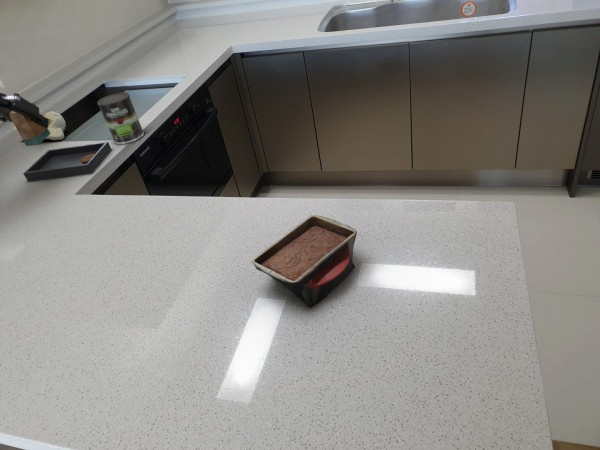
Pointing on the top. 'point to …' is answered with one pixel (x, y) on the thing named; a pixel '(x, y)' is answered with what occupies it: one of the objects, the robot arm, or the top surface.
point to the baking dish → (310, 258)
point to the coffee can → (121, 118)
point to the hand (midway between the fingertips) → (39, 124)
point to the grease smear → (87, 158)
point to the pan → (67, 162)
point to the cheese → (54, 126)
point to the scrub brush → (29, 129)
